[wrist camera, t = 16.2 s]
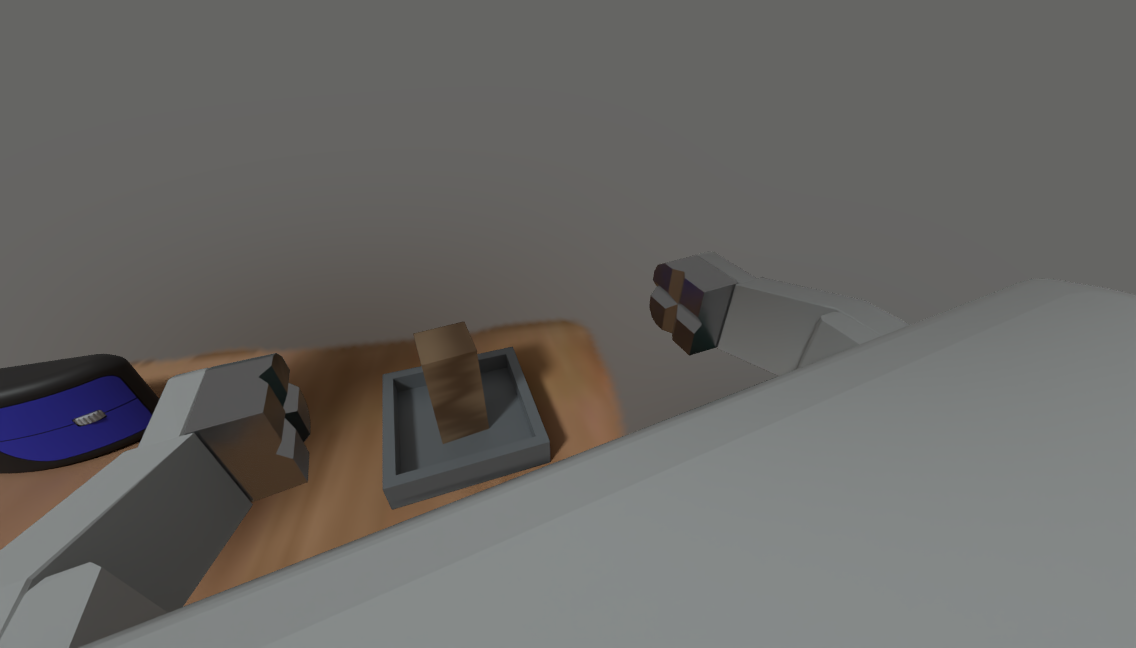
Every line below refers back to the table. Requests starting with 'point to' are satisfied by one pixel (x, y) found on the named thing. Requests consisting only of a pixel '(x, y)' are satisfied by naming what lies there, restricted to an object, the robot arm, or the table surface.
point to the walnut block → (453, 380)
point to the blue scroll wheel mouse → (70, 411)
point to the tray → (437, 468)
